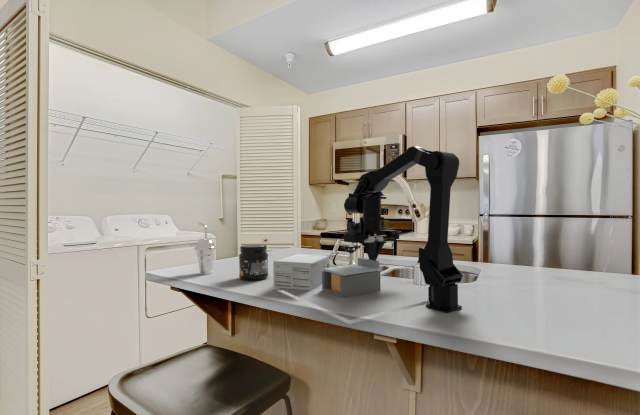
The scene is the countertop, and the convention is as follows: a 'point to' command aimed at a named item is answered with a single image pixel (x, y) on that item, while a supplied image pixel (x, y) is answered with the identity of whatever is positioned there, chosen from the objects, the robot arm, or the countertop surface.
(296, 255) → the supplement box
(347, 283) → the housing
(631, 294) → the countertop surface
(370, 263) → the lid
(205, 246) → the cup with straw
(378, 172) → the robot arm
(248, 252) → the supplement container
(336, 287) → the block
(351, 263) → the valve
